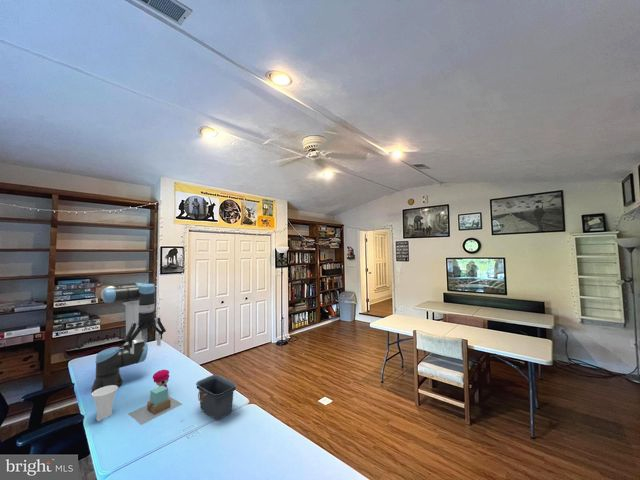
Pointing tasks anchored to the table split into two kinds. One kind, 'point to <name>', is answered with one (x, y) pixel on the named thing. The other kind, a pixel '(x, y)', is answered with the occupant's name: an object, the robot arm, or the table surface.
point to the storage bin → (216, 395)
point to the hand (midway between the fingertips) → (145, 349)
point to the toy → (161, 378)
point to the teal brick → (158, 395)
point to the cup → (104, 401)
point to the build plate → (144, 415)
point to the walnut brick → (158, 406)
